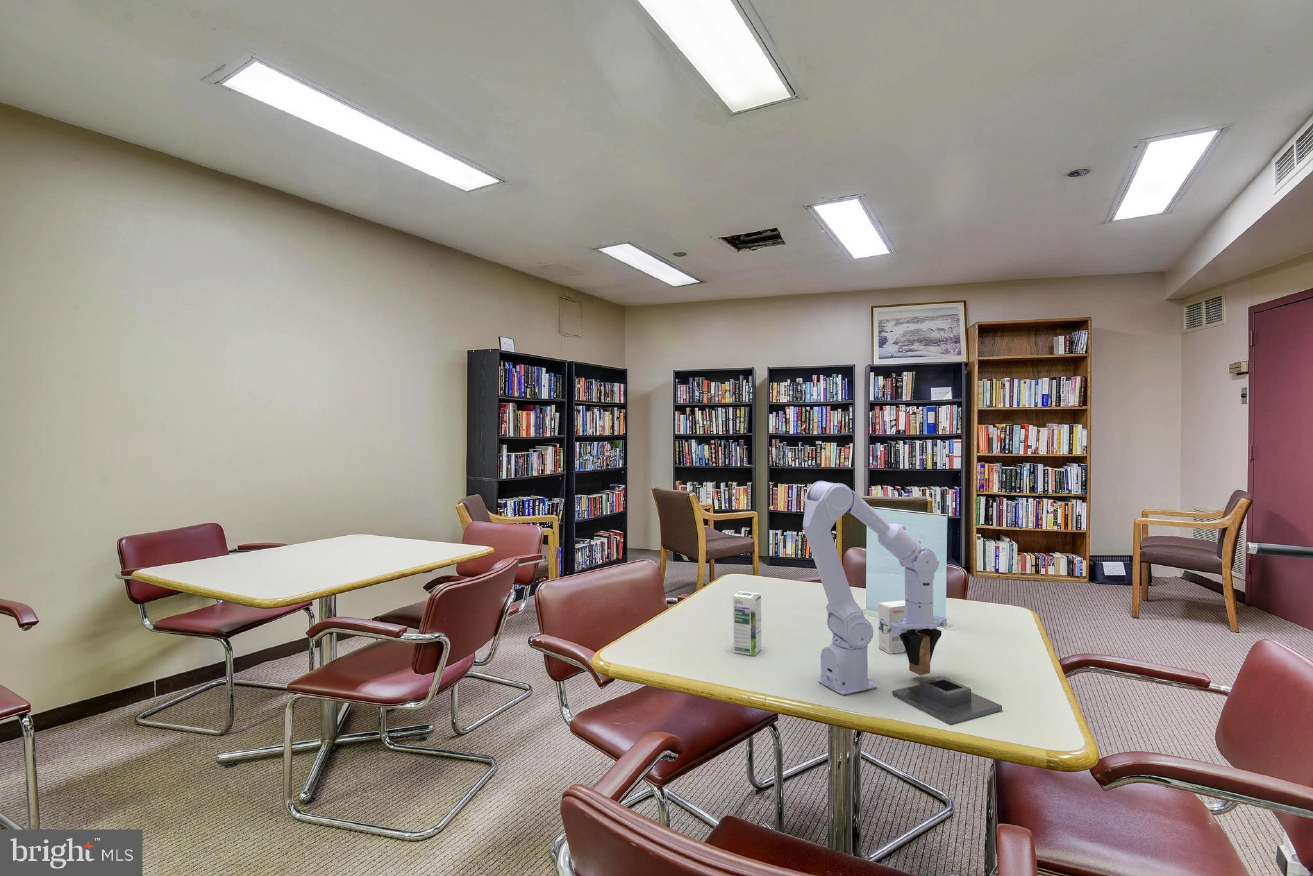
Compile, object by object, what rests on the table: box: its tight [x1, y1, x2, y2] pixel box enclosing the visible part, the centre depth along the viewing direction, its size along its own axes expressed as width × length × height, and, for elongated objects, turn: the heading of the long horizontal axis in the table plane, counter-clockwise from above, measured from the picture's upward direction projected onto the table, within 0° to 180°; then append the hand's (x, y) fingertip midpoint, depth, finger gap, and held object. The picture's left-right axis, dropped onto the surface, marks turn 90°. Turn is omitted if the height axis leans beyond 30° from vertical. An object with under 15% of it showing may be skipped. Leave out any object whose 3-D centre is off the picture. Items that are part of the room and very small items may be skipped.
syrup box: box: [732, 590, 762, 657], centre depth 150 cm, size 6×6×14 cm
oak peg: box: [908, 633, 931, 676], centre depth 131 cm, size 3×3×8 cm
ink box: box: [878, 599, 906, 655], centre depth 150 cm, size 9×5×12 cm, turn 106°
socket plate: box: [891, 676, 1003, 725], centre depth 119 cm, size 14×14×4 cm
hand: (919, 662), depth 131 cm, fingers closed on oak peg, 3 cm apart
